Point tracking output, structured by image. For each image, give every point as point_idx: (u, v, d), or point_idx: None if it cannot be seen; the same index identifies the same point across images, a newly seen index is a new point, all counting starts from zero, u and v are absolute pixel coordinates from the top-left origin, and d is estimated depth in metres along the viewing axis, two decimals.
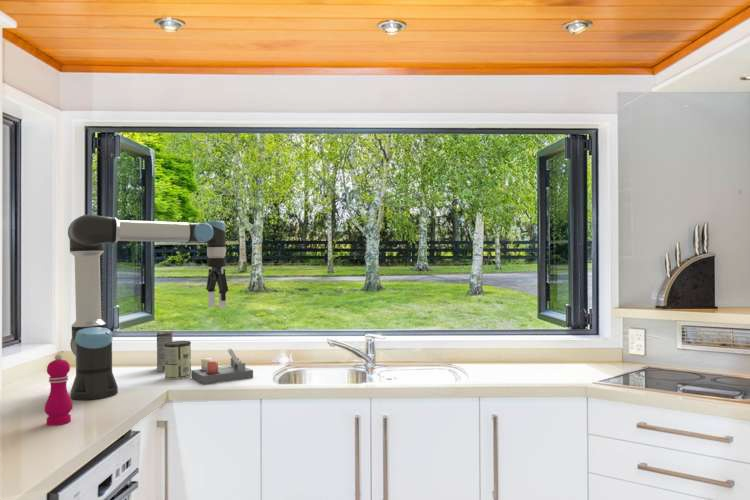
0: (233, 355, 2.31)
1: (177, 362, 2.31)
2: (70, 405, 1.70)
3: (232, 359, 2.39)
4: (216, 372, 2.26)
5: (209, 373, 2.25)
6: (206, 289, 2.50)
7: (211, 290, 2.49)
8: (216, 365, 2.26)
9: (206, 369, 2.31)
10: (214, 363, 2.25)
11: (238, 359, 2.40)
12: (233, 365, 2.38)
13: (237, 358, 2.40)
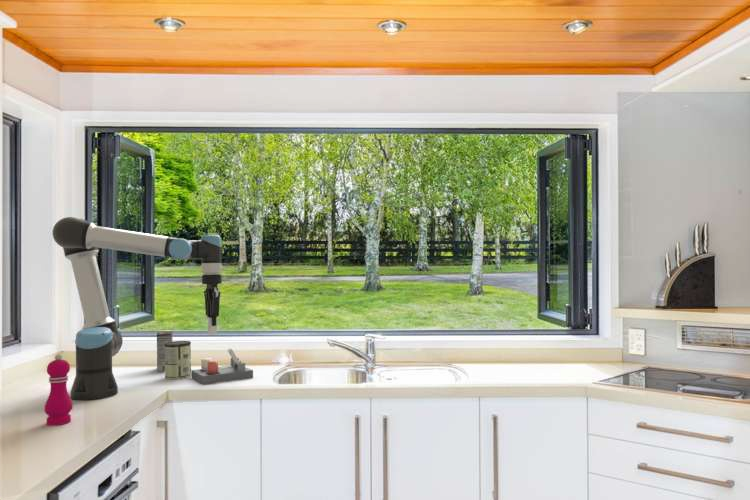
0: (233, 355, 2.31)
1: (177, 362, 2.31)
2: (70, 405, 1.70)
3: (232, 359, 2.39)
4: (216, 372, 2.26)
5: (209, 373, 2.25)
6: (206, 314, 2.29)
7: None
8: (216, 365, 2.26)
9: (206, 369, 2.31)
10: (214, 363, 2.25)
11: (238, 359, 2.40)
12: (233, 365, 2.38)
13: (237, 358, 2.40)
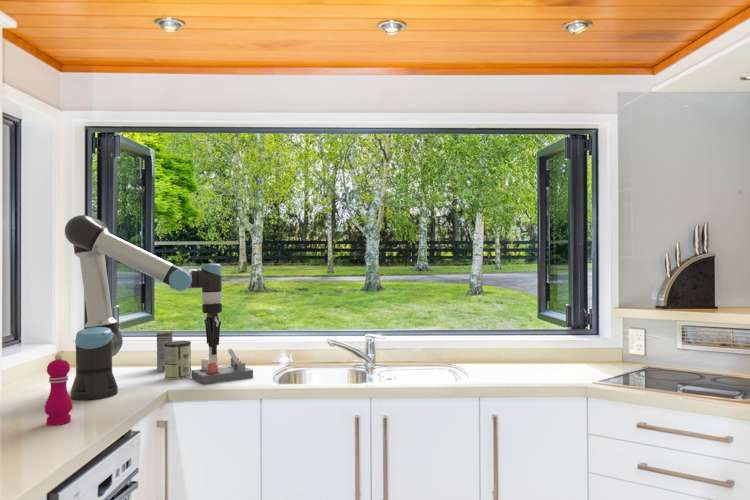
0: (233, 355, 2.31)
1: (177, 362, 2.31)
2: (70, 405, 1.70)
3: (232, 359, 2.39)
4: None
5: None
6: (207, 343, 2.29)
7: None
8: (216, 367, 2.26)
9: (206, 369, 2.31)
10: (214, 365, 2.25)
11: (238, 359, 2.40)
12: (233, 365, 2.38)
13: (237, 358, 2.40)
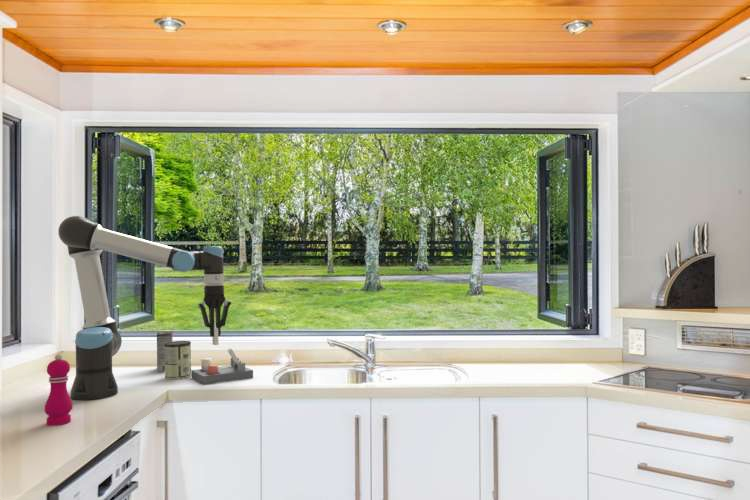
0: (233, 355, 2.31)
1: (177, 362, 2.31)
2: (70, 405, 1.70)
3: (232, 359, 2.39)
4: None
5: None
6: None
7: (217, 325, 2.28)
8: (216, 369, 2.26)
9: (206, 369, 2.31)
10: (214, 367, 2.25)
11: (238, 359, 2.40)
12: (233, 365, 2.38)
13: (237, 358, 2.40)
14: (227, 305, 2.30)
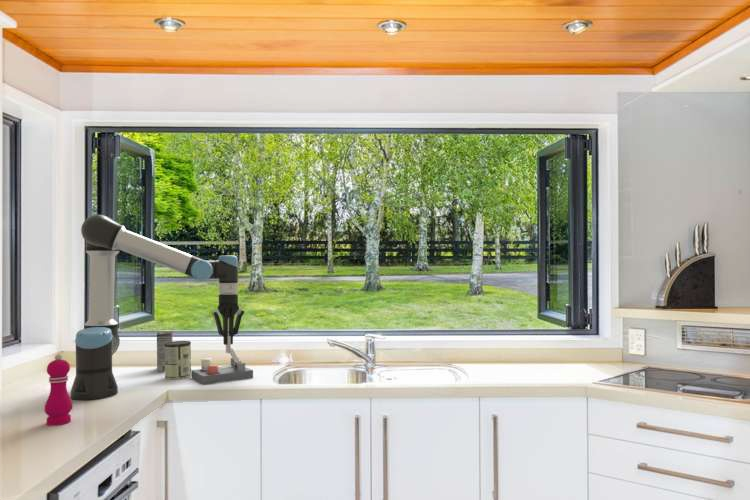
0: (234, 355, 2.31)
1: (177, 362, 2.31)
2: (70, 405, 1.70)
3: (232, 359, 2.39)
4: None
5: None
6: None
7: (229, 333, 2.31)
8: (216, 369, 2.26)
9: (206, 369, 2.31)
10: (214, 367, 2.25)
11: (238, 359, 2.40)
12: (233, 365, 2.38)
13: None
14: (240, 314, 2.33)
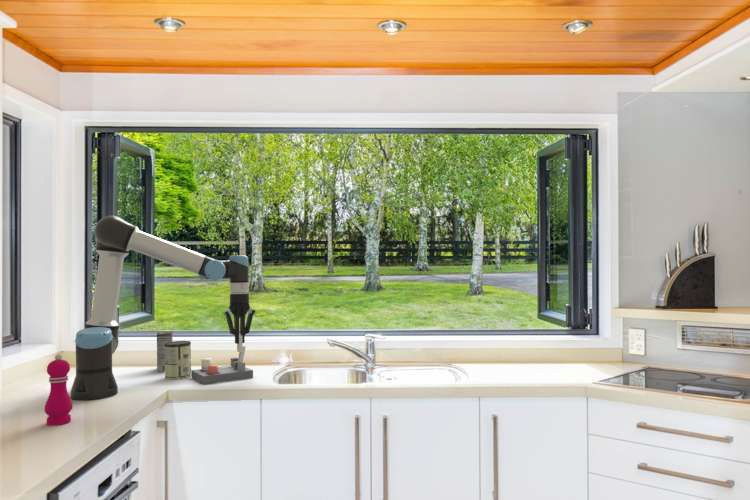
0: (242, 352, 2.33)
1: (177, 362, 2.31)
2: (70, 405, 1.70)
3: (232, 359, 2.39)
4: None
5: None
6: None
7: (241, 332, 2.34)
8: (216, 369, 2.26)
9: (206, 369, 2.31)
10: (214, 367, 2.25)
11: None
12: (233, 365, 2.38)
13: (237, 358, 2.40)
14: (251, 313, 2.35)
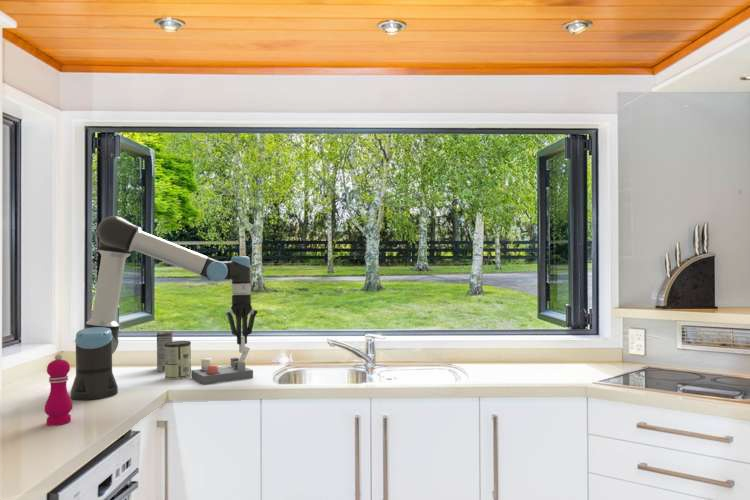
0: (245, 353, 2.34)
1: (177, 362, 2.31)
2: (70, 405, 1.70)
3: (232, 359, 2.39)
4: None
5: None
6: None
7: (243, 333, 2.34)
8: (216, 369, 2.26)
9: (206, 369, 2.31)
10: (214, 367, 2.25)
11: (238, 359, 2.40)
12: (233, 365, 2.38)
13: (237, 358, 2.40)
14: (253, 314, 2.36)
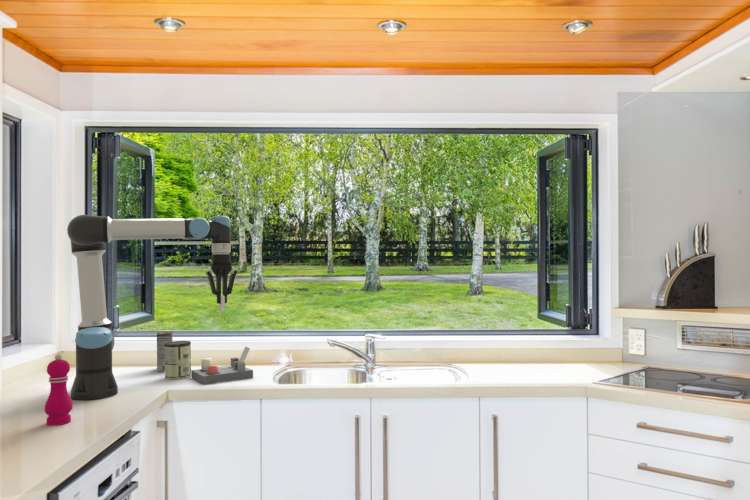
0: (245, 353, 2.34)
1: (177, 362, 2.31)
2: (70, 405, 1.70)
3: (232, 359, 2.39)
4: None
5: None
6: None
7: (223, 293, 2.36)
8: (216, 369, 2.26)
9: (206, 369, 2.31)
10: (214, 367, 2.25)
11: (238, 359, 2.40)
12: (233, 365, 2.38)
13: (237, 358, 2.40)
14: (234, 274, 2.37)
